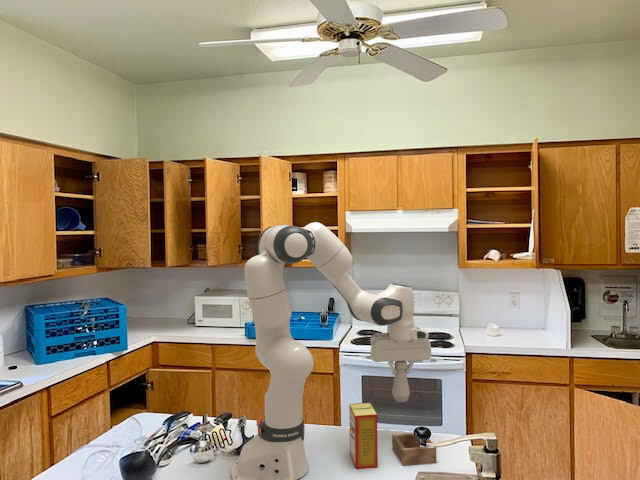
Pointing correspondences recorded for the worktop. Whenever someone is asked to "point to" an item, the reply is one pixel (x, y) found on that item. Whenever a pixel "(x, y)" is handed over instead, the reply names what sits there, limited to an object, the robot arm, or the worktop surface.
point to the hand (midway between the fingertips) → (400, 373)
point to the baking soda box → (363, 436)
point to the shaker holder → (412, 450)
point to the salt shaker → (400, 382)
